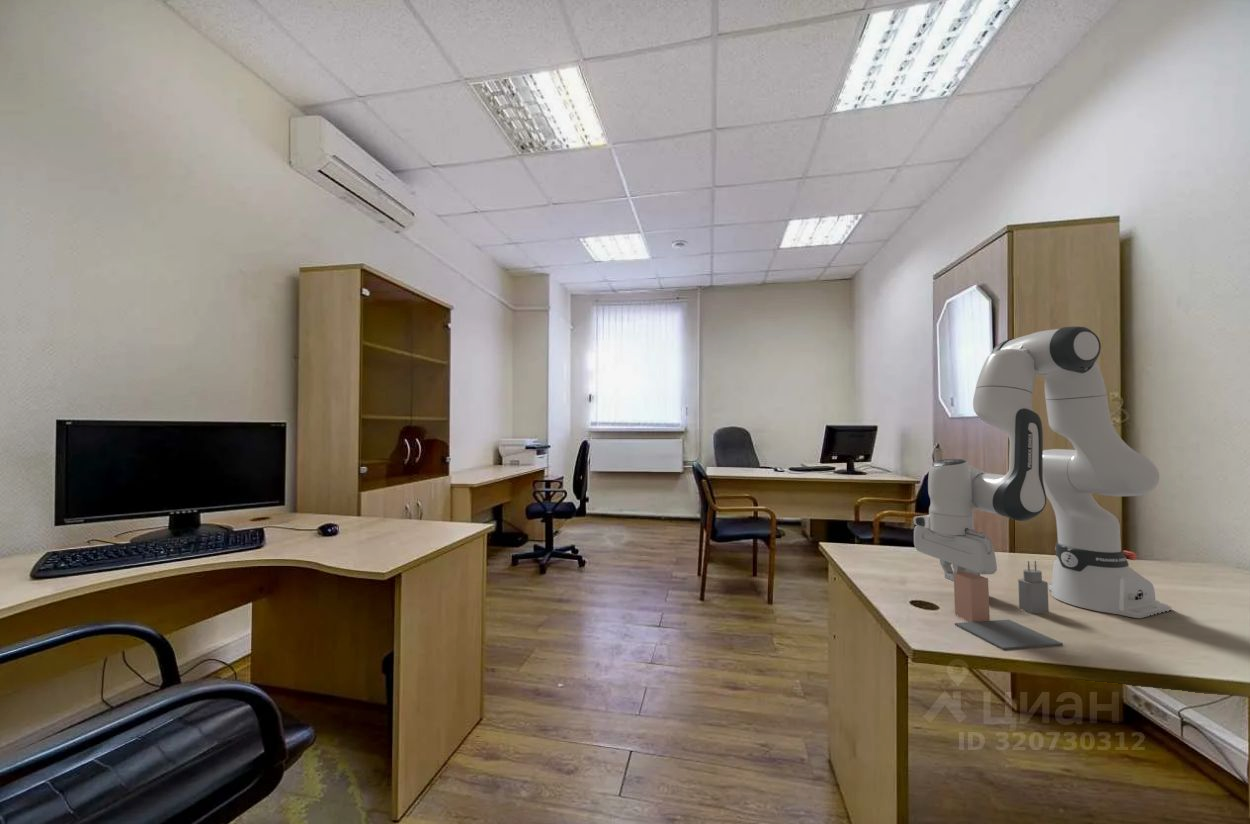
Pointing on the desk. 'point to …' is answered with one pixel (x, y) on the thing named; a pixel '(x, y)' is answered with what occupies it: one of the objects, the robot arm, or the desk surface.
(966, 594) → the block
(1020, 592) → the power adapter
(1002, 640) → the mat
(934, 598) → the desk surface
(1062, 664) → the desk surface
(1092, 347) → the robot arm
